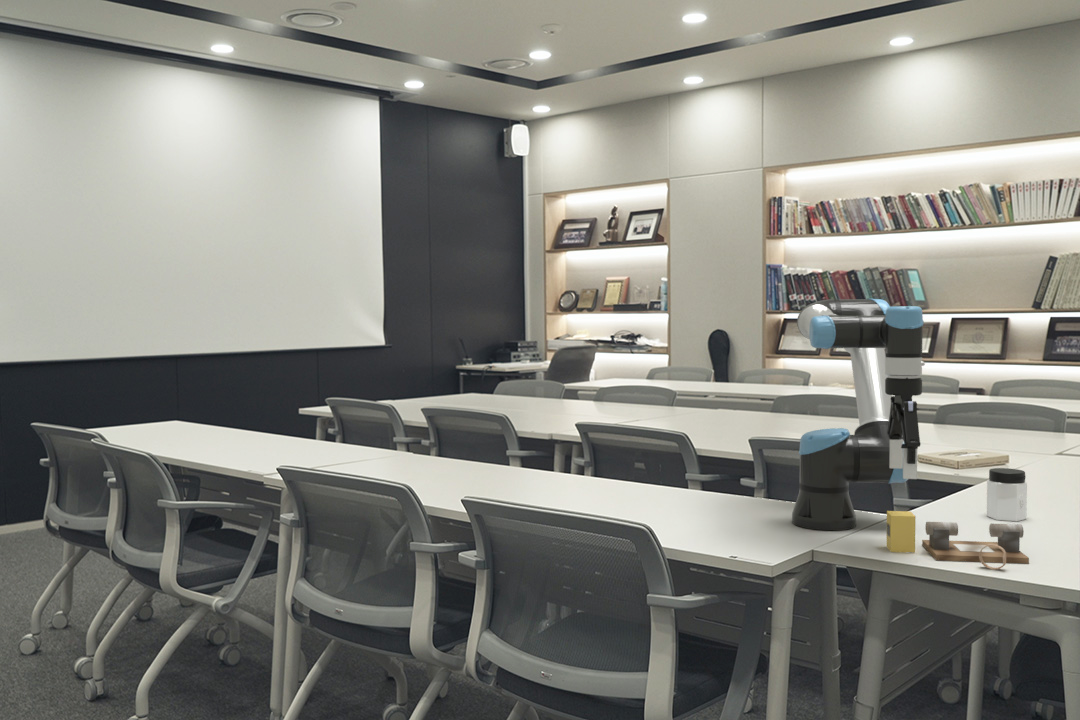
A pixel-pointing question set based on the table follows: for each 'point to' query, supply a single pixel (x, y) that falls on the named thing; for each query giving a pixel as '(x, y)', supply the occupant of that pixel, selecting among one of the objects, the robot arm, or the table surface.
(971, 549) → the shaft base
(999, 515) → the jar
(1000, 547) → the rose gold watch bracelet
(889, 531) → the yellow rectangular block
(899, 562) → the table surface
